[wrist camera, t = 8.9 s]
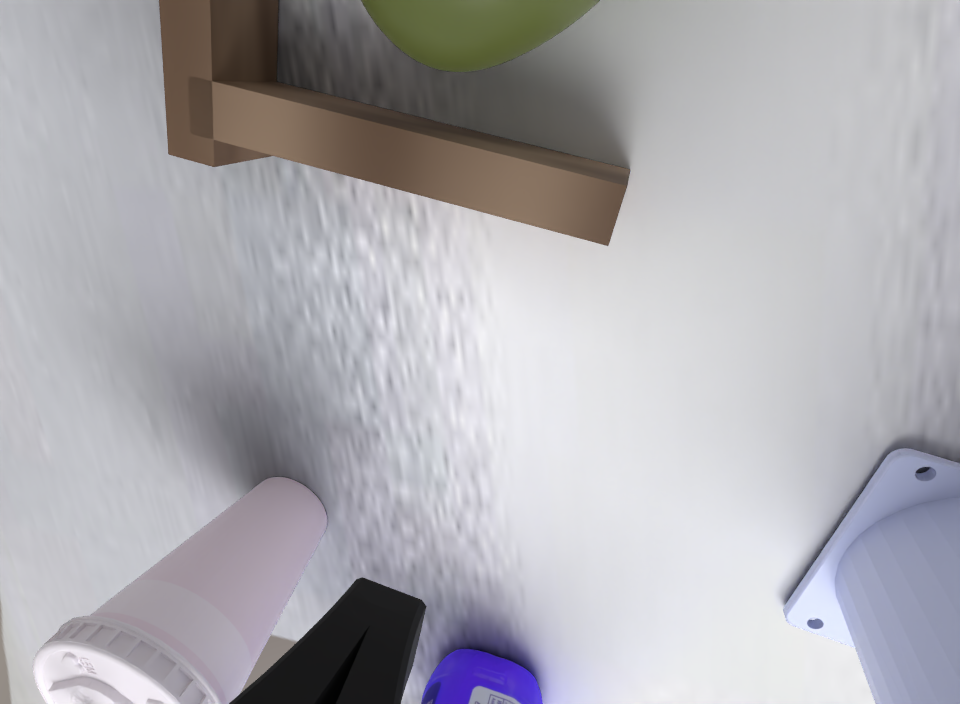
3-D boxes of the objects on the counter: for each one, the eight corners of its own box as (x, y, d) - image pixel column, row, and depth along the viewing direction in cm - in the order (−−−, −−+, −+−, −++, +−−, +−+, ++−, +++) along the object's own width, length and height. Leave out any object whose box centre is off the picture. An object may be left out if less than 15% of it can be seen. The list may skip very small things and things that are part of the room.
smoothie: (230, 431, 25) (-179, 771, 12) (364, 482, 24) (67, 900, 12) (227, 533, 28) (-105, 888, 15) (346, 582, 27) (95, 998, 15)
